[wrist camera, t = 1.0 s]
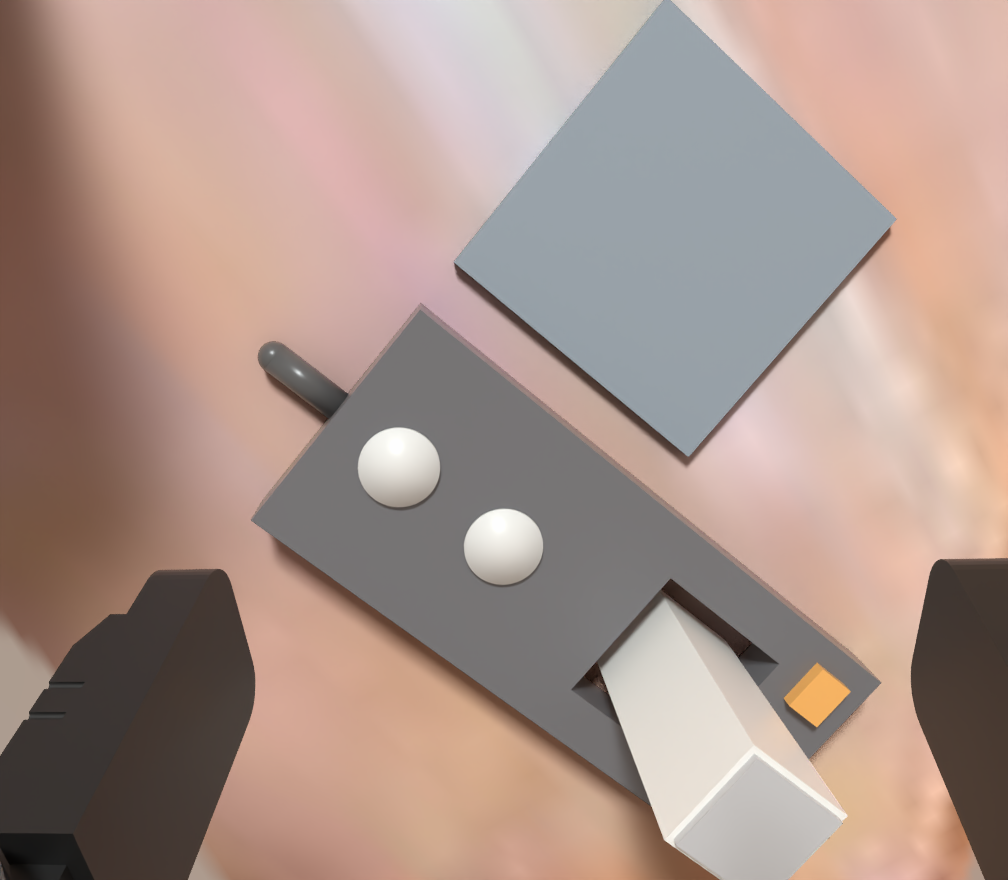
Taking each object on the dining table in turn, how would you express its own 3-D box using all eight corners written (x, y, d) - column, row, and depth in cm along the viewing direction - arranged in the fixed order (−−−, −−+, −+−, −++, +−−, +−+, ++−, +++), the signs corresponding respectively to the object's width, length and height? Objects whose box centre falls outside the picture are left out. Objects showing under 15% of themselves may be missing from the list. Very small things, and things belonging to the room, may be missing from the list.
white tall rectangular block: (595, 656, 40) (667, 846, 28) (657, 586, 39) (757, 750, 27) (663, 707, 40) (762, 913, 28) (725, 640, 40) (852, 822, 28)
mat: (453, 261, 35) (454, 262, 35) (662, 0, 34) (666, -3, 33) (684, 453, 38) (688, 457, 37) (889, 218, 36) (896, 219, 36)
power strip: (185, 444, 36) (164, 466, 33) (344, 241, 35) (336, 244, 32) (701, 817, 42) (722, 863, 39) (854, 654, 40) (888, 690, 38)
